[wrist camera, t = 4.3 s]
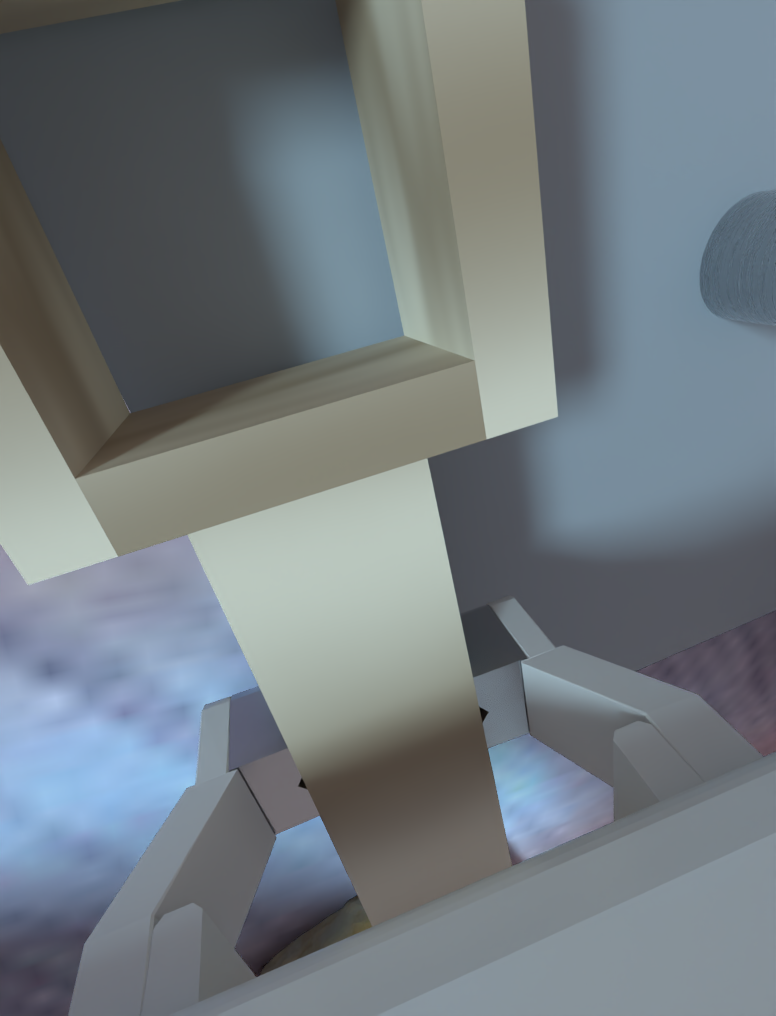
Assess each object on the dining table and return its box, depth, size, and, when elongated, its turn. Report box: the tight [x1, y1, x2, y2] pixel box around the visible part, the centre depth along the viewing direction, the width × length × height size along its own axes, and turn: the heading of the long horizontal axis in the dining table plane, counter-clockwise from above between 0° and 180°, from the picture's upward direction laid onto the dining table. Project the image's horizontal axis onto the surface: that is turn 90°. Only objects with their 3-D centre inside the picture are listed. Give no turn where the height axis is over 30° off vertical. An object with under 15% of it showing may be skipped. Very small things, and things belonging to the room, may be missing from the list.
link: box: [0, 0, 558, 927], centre depth 8 cm, size 16×7×3 cm, turn 13°
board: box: [0, 0, 776, 671], centre depth 9 cm, size 26×17×1 cm, turn 14°
